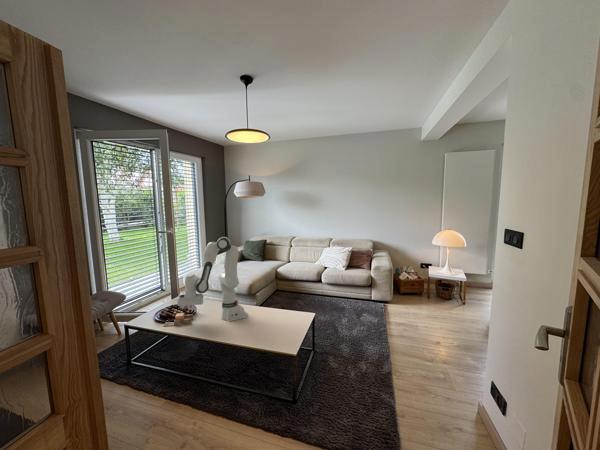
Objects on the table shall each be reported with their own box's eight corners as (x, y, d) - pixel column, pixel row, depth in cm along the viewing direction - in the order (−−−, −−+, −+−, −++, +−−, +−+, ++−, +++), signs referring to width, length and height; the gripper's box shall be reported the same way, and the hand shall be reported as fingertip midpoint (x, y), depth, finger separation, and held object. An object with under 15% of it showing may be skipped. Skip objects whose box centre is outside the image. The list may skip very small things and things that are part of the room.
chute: (193, 318, 219) (192, 314, 219) (191, 323, 209) (190, 319, 209) (166, 321, 214) (166, 316, 214) (163, 326, 204) (163, 322, 204)
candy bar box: (180, 313, 229) (179, 296, 228) (183, 311, 234) (182, 294, 233) (191, 313, 228) (191, 296, 227) (194, 311, 233) (194, 294, 232)
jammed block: (184, 319, 215) (184, 312, 215) (183, 322, 210) (182, 315, 210) (177, 320, 214) (176, 313, 213) (175, 323, 209) (175, 316, 208)
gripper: (204, 292, 218) (204, 307, 219) (178, 293, 213) (178, 309, 214) (203, 294, 212) (202, 310, 213) (176, 295, 207) (176, 312, 208)
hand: (190, 309), depth 213 cm, fingers closed
